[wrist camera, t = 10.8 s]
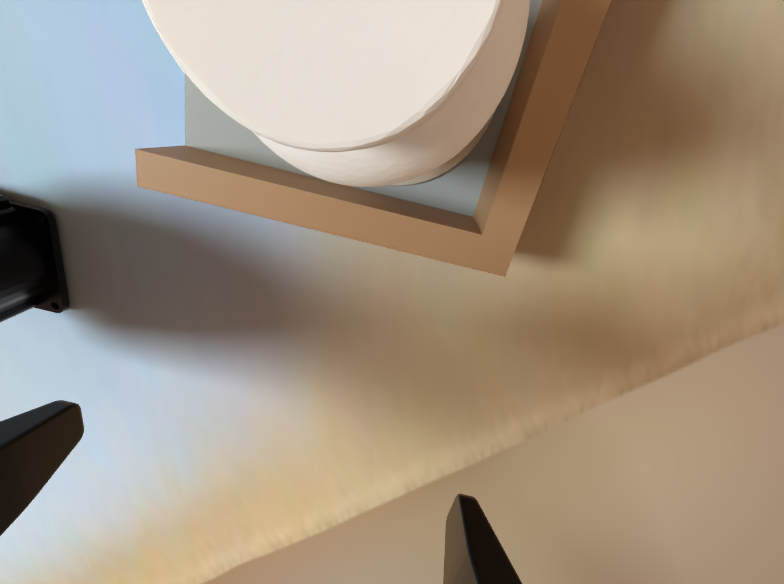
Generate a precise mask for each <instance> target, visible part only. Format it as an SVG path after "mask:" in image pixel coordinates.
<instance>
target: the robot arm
mask: <svg viewBox="0 0 784 584" xmlns="http://www.w3.org/2000/svg"><path fill="white" fill-rule="evenodd" d="M42 217H43V218H44V219H43V218H42ZM33 307H34V308H38V309H43V310H47V311H51V312H55V313H61V312H63V311H65V310H67V309H68V308H69V302H68V296H67V290H66V283H65V277H64V271H63V265H62V259H61V252H60V246H59V240H58V234H57V228H56V221H55V217H54V215H53V214H52V213H51V212H50V211H49V210H47V209H45V208H40V207H36V206H32V205H28V204H24V203H20V202H16V201H12V200H9V198H7V197H6V196H4V195H1V194H0V322H2V321H4V320H7V319H9V318H11V317H13V316H15V315H18V314H20V313H22V312H24V311H26V310H29V309H31V308H33ZM83 433H84V425H83V419H82V413H81V408H80V406H79V405H78V404H76V403H72V402H68V401H63V400H59V401H55V402H52V403H49V404H46V405H44V406H41V407H38V408H36V409H33V410H30V411H28V412H25V413H22V414H20V415H17V416H14V417H11V418H9V419H6V420H3V421H1V422H0V536H1V535H2V534H3V533H4V531H5V530H6V529H7V528H8V527H9V526H10V525H11V524H12V523H13V522H14V521H15V520H16V518H17V517H18V516H19V515H20V514H21V513H22V512H23V511H24V510H25V508H26V507H27V506H28V505H29V504H30V503H31V501H32V500H33V499H34V498H35V497H36V495H37V494H38V493H39V492H40V490H41V489H42V488H43V487H44V485H45V484H46V483H47V482H48V480H49V479H50V478H51V477H52V475H53V474H54V473H55V471H56V470H57V469H58V468H59V466H60V465H61V464H62V463H63V461H64V460H65V459H66V457H67V456H68V455H69V454H70V452H71V451H72V450H73V449H74V447H75V446H76V445H77V443H78V442H79V441H80V439H81V438H82V436H83ZM443 584H522V583H521V581H520V579H519V577H518V575H517V573H516V571H515V570H514V568H513V566H512V564H511V562H510V560H509V559H508V557H507V555H506V553H505V551H504V549H503V547H502V546H501V544H500V542H499V540H498V538H497V536H496V535H495V533H494V531H493V529H492V527H491V525H490V523H489V522H488V520H487V518H486V516H485V514H484V512H483V511H482V509H481V507H480V505H479V504H478V501H477V500H476V499H475V498H474V497H472V496H468V495H464V494H458V495H457V496H456V498H455V500H454V502H453V505H452V507H451V509H450V511H449V513H448V516H447V521H446V534H445V557H444V580H443Z"/></svg>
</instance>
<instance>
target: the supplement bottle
mask: <svg viewBox="0 0 784 584" xmlns="http://www.w3.org/2000/svg"><path fill="white" fill-rule="evenodd" d="M142 1H143V4H144V6H145V8H146V10H147V13H148V15H149V17H150V19H151V21H152V23H153V25H154V27H155V28H156V30H157V32H158V33H159V35H160V37H161V39H162V40H163V42H164V44H165V45H166V47H167V49H168V50H169V52H170V53H171V55H172V56H173V57H174V59H175V60H176V62H177V63H178V65H179V66H180V68H181V69H182V70H183V71H184V72H185V74H186V75H187V76H188V77H189V78H190V80H191V81H192V82H193V83H194V84H195V85H196V86H197V87H198V89H199V90H200V91H201V92H202V93H203V94H204V95H205V96H206V97H207V98H208V99H209V100H210V101H211V102H213V103H214V104H215V105H216V106H217V107H218V108H219V109H221V110H222V111H223V112H224V113H226V114H227V115H228V116H230V117H231V118H232V119H234V120H235V121H237V122H238V123H239V124H241V125H242V126H244V127H246V128H247V129H249V130H251V131H252V132H253V133H254V134H255V135H256V136H257V137H258V138H259V139H260V140H261V141H262V142H263V143H264V144H265V145H266V146H267V147H268V148H270V149H271V150H272V151H273V152H274V153H275V154H277V155H278V156H279V157H281V158H282V159H283V160H285V161H286V162H288V163H289V164H291V165H292V166H294V167H296V168H298V169H299V170H301V171H303V172H305V173H307V174H310V175H312V176H315V177H317V178H320V179H322V180H325V181H328V182H332V183H336V184H341V185H347V186H355V187H377V186H386V185H392V184H396V183H400V182H404V181H408V180H411V179H414V178H416V177H419V176H421V175H424V174H426V173H428V172H430V171H432V170H433V169H435V168H437V167H439V166H440V165H442V164H444V163H445V162H447V161H448V160H450V159H451V158H453V157H454V156H455V155H456V154H457V153H459V152H460V151H461V150H462V149H463V148H464V147H465V146H466V145H467V144H468V143H469V142H470V141H471V140H472V139H473V138H474V137H475V136H476V135H477V134H478V133H479V132H480V130H481V129H482V128H483V127H484V125H485V124H486V123H487V121H488V120H489V118H490V117H491V115H492V114H493V113H494V111H495V110H496V108H497V106H498V105H499V103H500V101H501V99H502V98H503V96H504V94H505V92H506V90H507V88H508V86H509V83H510V81H511V79H512V76H513V74H514V71H515V68H516V66H517V63H518V60H519V57H520V53H521V50H522V46H523V42H524V38H525V33H526V29H527V22H528V16H529V7H530V0H142Z"/></svg>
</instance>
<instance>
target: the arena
mask: <svg viewBox="0 0 784 584" xmlns="http://www.w3.org/2000/svg"><path fill="white" fill-rule="evenodd" d="M611 1H612V0H530V7H529V16H528V22H527V29H526V33H525V38H524V42H523V46H522V50H521V53H520V57H519V60H518V63H517V66H516V68H515V71H514V74H513V76H512V79H511V81H510V83H509V86H508V88H507V90H506V92H505V94H504V96H503V98H502V99H501V101H500V103H499V105H498V106H497V108H496V110H495V111H494V113H493V114H492V115H491V117H490V118H489V120H488V121H487V123H486V124H485V125H484V127H483V128H482V129H481V130H480V132H479V133H478V134H477V135H476V136H475V137H474V138H473V139H472V140H471V141H470V142H469V143H468V144H467V145H466V146H465V147H464V148H463V149H462V150H461V151H460V152H459V153H457V154H456V155H455V156H454V157H453V158H451V159H450V160H448V161H447V162H445V163H444V164H442V165H440V166H439V167H437V168H435V169H433V170H432V171H430V172H428V173H426V174H424V175H421V176H419V177H416V178H414V179H411V180H408V181H404V182H400V183H396V184H392V185H386V186H377V187H355V186H347V185H341V184H336V183H332V182H328V181H325V180H322V179H320V178H317V177H315V176H312V175H310V174H307V173H305V172H303V171H301V170H299V169H298V168H296V167H294V166H292V165H291V164H289V163H288V162H286V161H285V160H283V159H282V158H281V157H279V156H278V155H277V154H275V153H274V152H273V151H272V150H271V149H270V148H268V147H267V146H266V145H265V144H264V143H263V142H262V141H261V140H260V139H259V138H258V137H257V136H256V135H255V134H254V133H253V132H252V131H251V130H249V129H247V128H246V127H244V126H242V125H241V124H239V123H238V122H237V121H235V120H234V119H232V118H231V117H230V116H228V115H227V114H226V113H224V112H223V111H222V110H221V109H219V108H218V107H217V106H216V105H215V104H214V103H213V102H211V101H210V100H209V99H208V98H207V97H206V96H205V95H204V94H203V93H202V92H201V91H200V90H199V89H198V87H197V86H196V85H195V84H194V83H193V82H192V81H191V80H190V78H189V77H188V76H187V75H186V74H185V146H173V147H158V148H143V149H135V155H136V171H137V186H139V187H143V188H147V189H151V190H155V191H159V192H163V193H167V194H171V195H175V196H179V197H183V198H187V199H191V200H196V201H200V202H204V203H208V204H212V205H216V206H220V207H224V208H228V209H232V210H236V211H240V212H244V213H248V214H253V215H257V216H261V217H265V218H269V219H273V220H277V221H281V222H285V223H289V224H293V225H297V226H301V227H305V228H310V229H314V230H318V231H322V232H326V233H330V234H334V235H338V236H342V237H346V238H350V239H354V240H358V241H362V242H367V243H371V244H375V245H379V246H383V247H387V248H391V249H395V250H399V251H403V252H407V253H411V254H415V255H419V256H424V257H428V258H432V259H436V260H440V261H444V262H448V263H452V264H456V265H460V266H464V267H468V268H472V269H476V270H481V271H485V272H489V273H493V274H497V275H501V276H505V275H506V273H507V270H508V268H509V265H510V262H511V260H512V257H513V255H514V252H515V249H516V247H517V244H518V242H519V239H520V236H521V234H522V231H523V229H524V226H525V223H526V221H527V218H528V216H529V213H530V210H531V208H532V205H533V203H534V200H535V198H536V195H537V192H538V190H539V187H540V185H541V182H542V179H543V177H544V174H545V172H546V169H547V166H548V164H549V161H550V159H551V156H552V153H553V151H554V148H555V146H556V143H557V141H558V138H559V135H560V133H561V130H562V128H563V125H564V122H565V120H566V117H567V115H568V112H569V109H570V107H571V104H572V102H573V99H574V96H575V94H576V91H577V89H578V86H579V84H580V81H581V78H582V76H583V73H584V71H585V68H586V65H587V63H588V60H589V58H590V55H591V52H592V50H593V47H594V45H595V42H596V39H597V37H598V34H599V32H600V29H601V26H602V24H603V21H604V19H605V16H606V14H607V11H608V8H609V6H610V3H611Z"/></svg>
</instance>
